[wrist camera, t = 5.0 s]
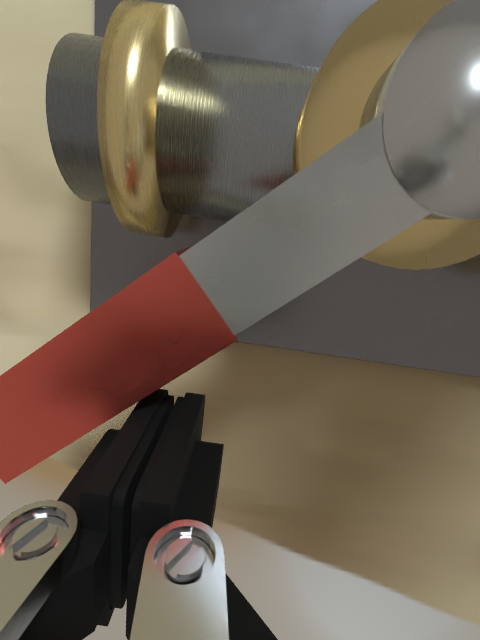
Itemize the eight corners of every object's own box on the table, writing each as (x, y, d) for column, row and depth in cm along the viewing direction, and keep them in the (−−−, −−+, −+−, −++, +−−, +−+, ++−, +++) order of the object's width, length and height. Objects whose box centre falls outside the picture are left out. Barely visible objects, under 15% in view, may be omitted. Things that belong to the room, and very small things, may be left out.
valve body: (106, -90, 13) (-92, -501, 6) (689, -9, 13) (1273, -321, 5) (97, 315, 17) (-19, 383, 10) (528, 378, 17) (730, 494, 10)
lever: (489, -10, 7) (560, -80, 5) (557, 157, 7) (636, 139, 6) (-27, 367, 9) (-82, 395, 8) (59, 460, 10) (24, 502, 9)
